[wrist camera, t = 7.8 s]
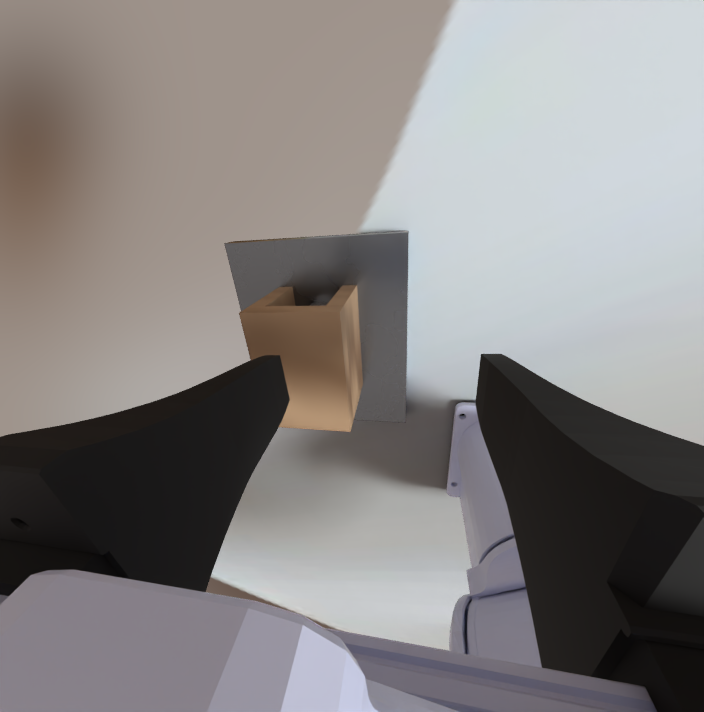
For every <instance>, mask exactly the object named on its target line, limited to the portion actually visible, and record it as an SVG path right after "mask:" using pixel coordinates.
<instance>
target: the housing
mask: <svg viewBox="0 0 704 712" xmlns="http://www.w3.org/2000/svg"><path fill="white" fill-rule="evenodd" d="M239 315H240V319H241V323H242V327H243V331H244V335H245V339H246V343H247V347H248V351H249V355H250V359H251V360H253V359H255V358H258V357H261V356H264V355H280V358H281V362H282V366H283V371H284V375H285V380H286V384H287V389H288V393H289V398H290V401H289V404H288V406H287V409H286V412H285V414H284V417H283V419H282V422H281V423H280V425H279V427H285V428H300V429H315V430H330V431H345V432H351V428H352V424H353V420H354V416H355V412H356V409H357V405H358V401H359V397H360V393H361V389H362V386H363V377H362V360H361V343H360V326H359V310H358V293H357V285H342V287H341V288H340V289H339V290H338V291H337V293H336V294H335V295H334V296H333V298H332V299H331V300H330V301H329V302H328V304H327V305H326V306H295V299H294V293H293V287H278V288H277V289H275V290H274V291H272V292H271V293H269V294H268V295H266V296H264V297H263V298H261V299H260V300H258V301H257V302H255V303H254V304H252V305H251V306H249V307H247V308H246V309H244V310H243V311H241V312H240V313H239Z"/></svg>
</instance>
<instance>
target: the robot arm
mask: <svg viewBox="0 0 704 712" xmlns="http://www.w3.org/2000/svg"><path fill="white" fill-rule="evenodd" d="M289 401H290V398H289V393H288V389H287V384H286V380H285V375H284V371H283V366H282V362H281V358H280V355H264V356H261V357H258V358H255V359H253V360H251V361H248V362H246V363H244V364H242V365H240V366H238V367H235V368H233V369H231V370H229V371H227V372H225V373H223V374H221V375H219V376H217V377H214V378H212V379H210V380H207V381H205V382H203V383H201V384H198V385H196V386H194V387H192V388H189V389H187V390H184V391H182V392H179V393H177V394H174V395H172V396H168V397H166V398H163V399H160V400H157V401H154V402H151V403H148V404H144V405H141V406H138V407H135V408H132V409H128V410H124V411H121V412H118V413H114V414H110V415H106V416H102V417H98V418H94V419H89V420H85V421H80V422H76V423H71V424H66V425H61V426H55V427H50V428H44V429H38V430H33V431H27V432H22V433H15V434H10V435H5V436H2V437H0V712H704V446H702V445H699V444H696V443H693V442H690V441H687V440H684V439H681V438H678V437H675V436H672V435H669V434H666V433H663V432H661V431H658V430H655V429H652V428H649V427H647V426H644V425H641V424H638V423H636V422H633V421H631V420H628V419H626V418H623V417H621V416H618V415H616V414H614V413H611V412H609V411H607V410H604V409H602V408H600V407H598V406H595V405H593V404H591V403H589V402H587V401H584V400H582V399H580V398H578V397H576V396H574V395H573V394H571V393H569V392H567V391H565V390H563V389H561V388H559V387H557V386H556V385H554V384H552V383H550V382H548V381H547V380H545V379H543V378H541V377H540V376H538V375H536V374H535V373H533V372H531V371H530V370H528V369H526V368H525V367H523V366H522V365H520V364H518V363H517V362H515V361H513V360H512V359H510V358H508V357H506V356H504V355H502V354H481V360H480V369H479V378H478V386H477V395H476V403H469V402H461V403H458V404H457V405H456V407H455V413H454V423H453V432H452V442H451V451H450V461H449V470H448V480H447V494H448V495H450V496H452V497H460V501H461V507H462V513H463V519H464V525H465V531H466V537H467V543H468V549H469V555H470V561H471V565H472V568H471V569H468V570H467V577H468V584H469V590H470V594H468V595H463V596H462V597H461V598H459V599H458V601H457V603H456V605H455V608H454V611H453V616H452V623H451V627H450V637H449V651H448V650H442V649H437V648H431V647H426V646H420V645H415V644H409V643H404V642H399V641H393V640H388V639H382V638H377V637H371V636H366V635H360V634H355V633H349V632H344V631H339V630H333V629H328V628H323V627H321V626H320V625H318V624H316V623H315V622H313V621H311V620H310V619H308V618H306V617H305V616H303V615H300V614H297V613H293V612H290V611H287V610H284V609H280V608H277V607H274V606H271V605H267V604H264V603H260V602H257V601H253V600H247V599H241V598H235V597H230V596H224V595H218V594H212V593H207V592H206V588H207V585H208V582H209V579H210V576H211V573H212V570H213V568H214V565H215V562H216V559H217V557H218V554H219V551H220V549H221V546H222V543H223V540H224V538H225V535H226V533H227V530H228V528H229V525H230V523H231V520H232V518H233V515H234V513H235V510H236V508H237V505H238V503H239V501H240V499H241V496H242V494H243V492H244V490H245V487H246V485H247V483H248V481H249V479H250V477H251V475H252V473H253V471H254V469H255V467H256V466H257V464H258V462H259V460H260V459H261V457H262V455H263V453H264V452H265V450H266V448H267V447H268V445H269V443H270V441H271V440H272V438H273V436H274V434H275V432H276V431H277V429H278V427H279V425H280V423H281V422H282V419H283V417H284V414H285V412H286V409H287V406H288V404H289ZM460 414H465V415H464V416H459V415H460ZM453 482H455V483H453Z"/></svg>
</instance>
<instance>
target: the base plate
mask: <svg viewBox="0 0 704 712" xmlns="http://www.w3.org/2000/svg"><path fill="white" fill-rule="evenodd" d="M225 248H226V252H227V256H228V260H229V264H230V268H231V272H232V276H233V280H234V284H235V288H236V292H237V296H238V300H239V304H240V308H241V311H243V310H244V309H246V308H247V307H249V306H251V305H252V304H254V303H255V302H257V301H258V300H260V299H261V298H263V297H264V296H266V295H268V294H269V293H271V292H272V291H274V290H275V289H277V288H278V287H293V293H294V299H295V306H326V305H327V304H328V302H329V301H330V300H331V299H332V298H333V296H334V295H335V294H336V293H337V291H338V290H339V289H340V288H341V287H342V285H357V293H358V310H359V326H360V343H361V360H362V377H363V386H362V389H361V393H360V397H359V401H358V405H357V409H356V412H355V416H354V420H370V421H387V422H405V423H406V362H407V291H408V231H398V232H381V233H365V234H349V235H334V236H333V235H332V236H317V237H301V238H283V239H268V240H253V241H235V242H229V243H225Z"/></svg>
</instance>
